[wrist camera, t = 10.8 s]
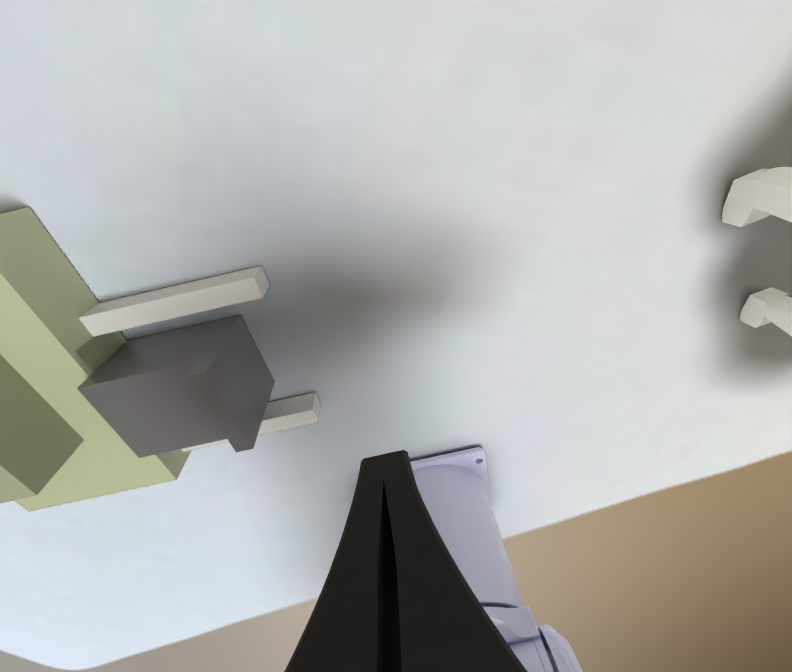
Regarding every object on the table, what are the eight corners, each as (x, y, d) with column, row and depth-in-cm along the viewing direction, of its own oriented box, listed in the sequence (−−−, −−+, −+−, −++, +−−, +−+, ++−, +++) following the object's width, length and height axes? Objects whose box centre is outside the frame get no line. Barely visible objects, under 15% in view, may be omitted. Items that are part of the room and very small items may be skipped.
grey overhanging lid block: (275, 380, 20) (253, 448, 16) (175, 402, 21) (127, 475, 16) (241, 312, 18) (205, 371, 14) (129, 338, 18) (59, 404, 14)
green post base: (323, 410, 22) (312, 499, 17) (66, 466, 22) (-21, 570, 17) (217, 161, 14) (139, 184, 9) (-165, 253, 15) (-442, 323, 10)
